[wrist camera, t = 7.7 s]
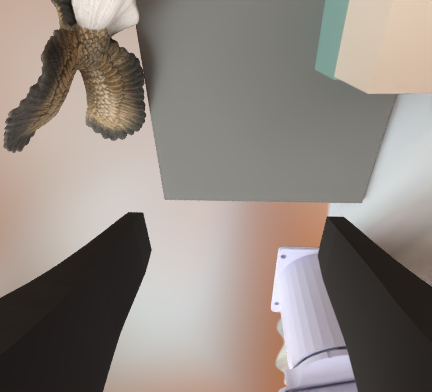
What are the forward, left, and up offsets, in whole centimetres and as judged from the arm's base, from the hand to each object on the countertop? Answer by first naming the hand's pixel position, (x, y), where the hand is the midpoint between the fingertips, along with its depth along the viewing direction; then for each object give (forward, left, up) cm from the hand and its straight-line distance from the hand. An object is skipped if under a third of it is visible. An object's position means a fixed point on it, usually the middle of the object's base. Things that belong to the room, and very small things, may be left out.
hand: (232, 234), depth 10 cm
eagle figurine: (+5, +9, -11) cm, 15 cm away
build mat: (+4, -2, -10) cm, 11 cm away
